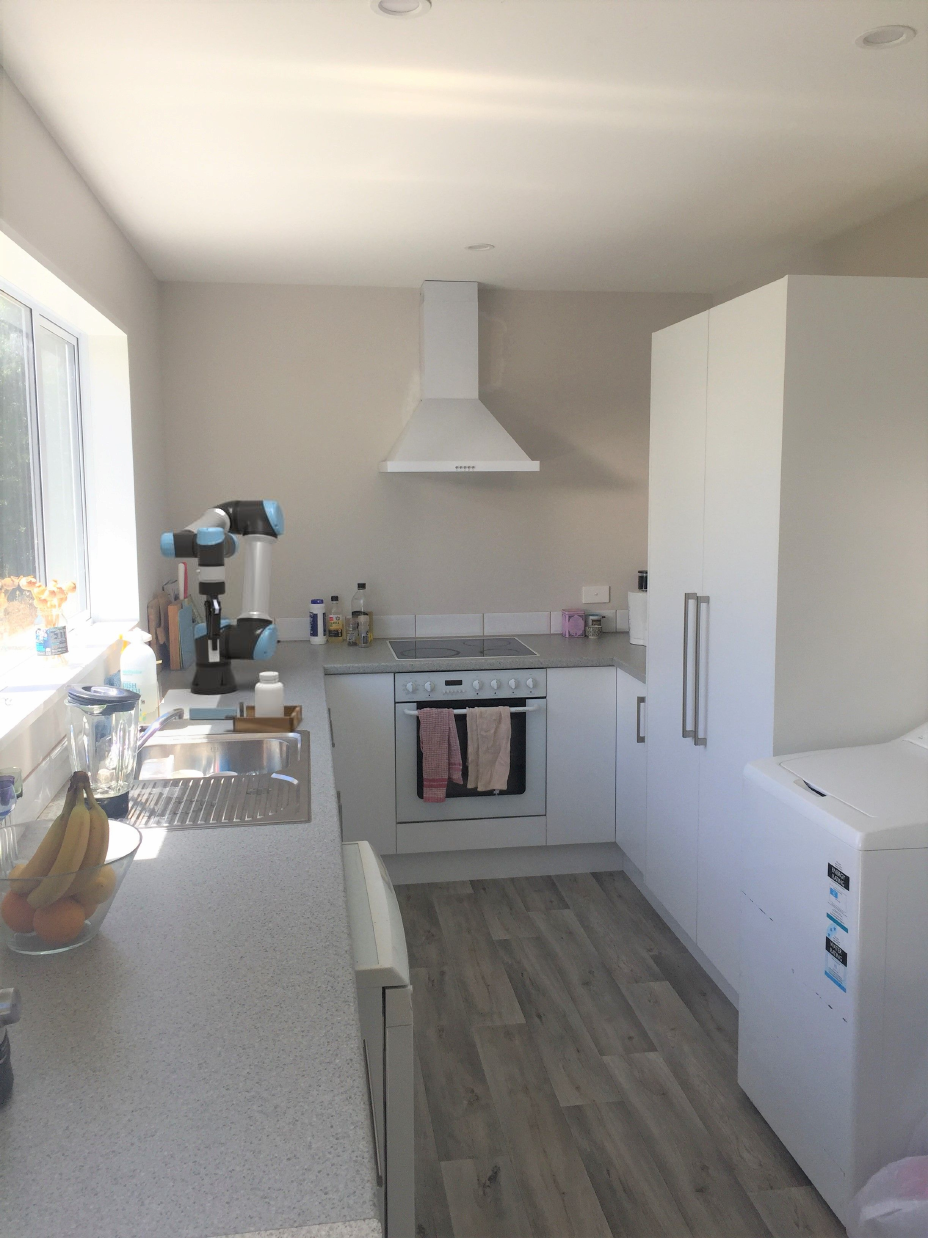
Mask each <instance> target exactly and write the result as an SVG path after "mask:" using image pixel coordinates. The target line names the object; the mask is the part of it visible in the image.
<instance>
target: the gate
mask: <svg viewBox="0 0 928 1238" xmlns="http://www.w3.org/2000/svg"><path fill="white" fill-rule="evenodd" d="M188 713H189V714H188V715H189V716H188V717H189V718H188V719H190V720H193V719H194V720H206V719H207V720H219V719H220V720H223V719H224V720H226V719H225V716H226V715H237V716H238V708H237V707H189V709H188Z"/></svg>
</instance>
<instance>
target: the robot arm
mask: <svg viewBox="0 0 928 1238" xmlns="http://www.w3.org/2000/svg"><path fill="white" fill-rule="evenodd" d="M201 516H202V517H200V518H198V520H196V521H194V522H192V523H191V524H190V525H188V526H186V527H184V528H183V529H181V530H180V531H178V532H173V531H172V532H166V533H163V534H162V535H161V537H160V539H159V540H160V541H159V550H160V553H161V555H162V556H163V557H164V558H171V559H197V568H198V569H196V571H195V572H196V574H198V577H197V578H198V580H199V582H198V594H199V595H200V596H201V595H202V596H206V597H205V600H204V602H203V607H204V615H205V616H204V617H205V622H202V623H198V624H197V625H195V626H194V637H193V640H194V662H195V663H194V664H195V668H194V669H195V670H194V672H193V675H192V678H191V681H190V682H191V683H190V693H193V694H197V695H220V694H228V693H232V692H236V691H237V690H238V681H237V678H236V674H235V673H234V670H233V668H232V667H233V666H232V661H233V660H236V661H237V660H238V661H239V660H240V661H242V660H243V661H245V660H247V661H256V662H257V661H264V660H265V661H266V660H269V659H271V658H272V657H273V655H274V653H275V652H276V648H277V645H278V644H277V643H278V639H279V638H278V637H279V636H278V635H279V634H278V627H277V626H276V625H275V624H273V619H272V618H271V616H269V610H270V609H269V607H270V594H271V593H270V590H271V577H272V562H273V560H272V559H273V546H274V545H275V544H277V542H278V538H279V537H280V536H282V535H284V531H285V519H284V514H283V511H282V508H281V505H280V504H279V503H278V502H277V501H275V500H266V499H263V500H259V499H258V500H255V499H254V500H253V499H251V500H248V499H247V500H244V499H243V500H238V499H236V500H234V499H233V500H229V501H224V502H223V503H222V502H221V503H219V504H217V505H214V506H213V507H210V508H209V509H207V510H206V511H205V512H204V513H203V514H202V515H201ZM235 535H236V536H237V535H239V536H241V537H242V538H241V539H242V541H244V543H246V544H245V545H246V548H245V549H246V550H245V562H244V577H243V578H244V580H243V595H242V605H241V606H242V608H241V609H242V610H241V614H240V615H239V616H238V617H237V618H236V624H232V622H231V620H230V619H222V608H223V607H222V606H221V605H222V604H221V603H222V602H221V600H219V595H220V596H222V595H225V594H226V582H225V581H224V580H226V565H225V559H229V558H231V557H233V556H235V555H236V554H237V553H238V551H239V548H240V547H239V546H240V545H239V540H238V539H237V537H236V536H235ZM278 536H279V537H278Z"/></svg>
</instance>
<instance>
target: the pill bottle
mask: <svg viewBox="0 0 928 1238" xmlns="http://www.w3.org/2000/svg"><path fill="white" fill-rule="evenodd" d="M279 676H280V675H279V672H277V671H263V672H259V675H258V677H259V682H257V683H256V684H255V686H254V705H255V717H284V705H285V700H284V699H285V696H284V693H285V690H284V689H285V688H284V684H283V683H282V682H281V681H279V680H280V679H279Z"/></svg>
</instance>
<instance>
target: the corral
mask: <svg viewBox="0 0 928 1238" xmlns="http://www.w3.org/2000/svg"><path fill="white" fill-rule="evenodd" d="M238 706H239V716H238V714H237V715H226V716H225V719H224V720H232V733H294V731H296V729H297V727H298V726H299V724H300V723H301V721H302V720H303V705H299V704H295V705H288V704H287V705H285V704H284V717H255V704H254V705H252V704H251V705H250V704H249V705H244V702H243V701H240V702H239V704H238ZM244 706H245V707H244ZM244 710H245V711H244Z"/></svg>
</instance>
